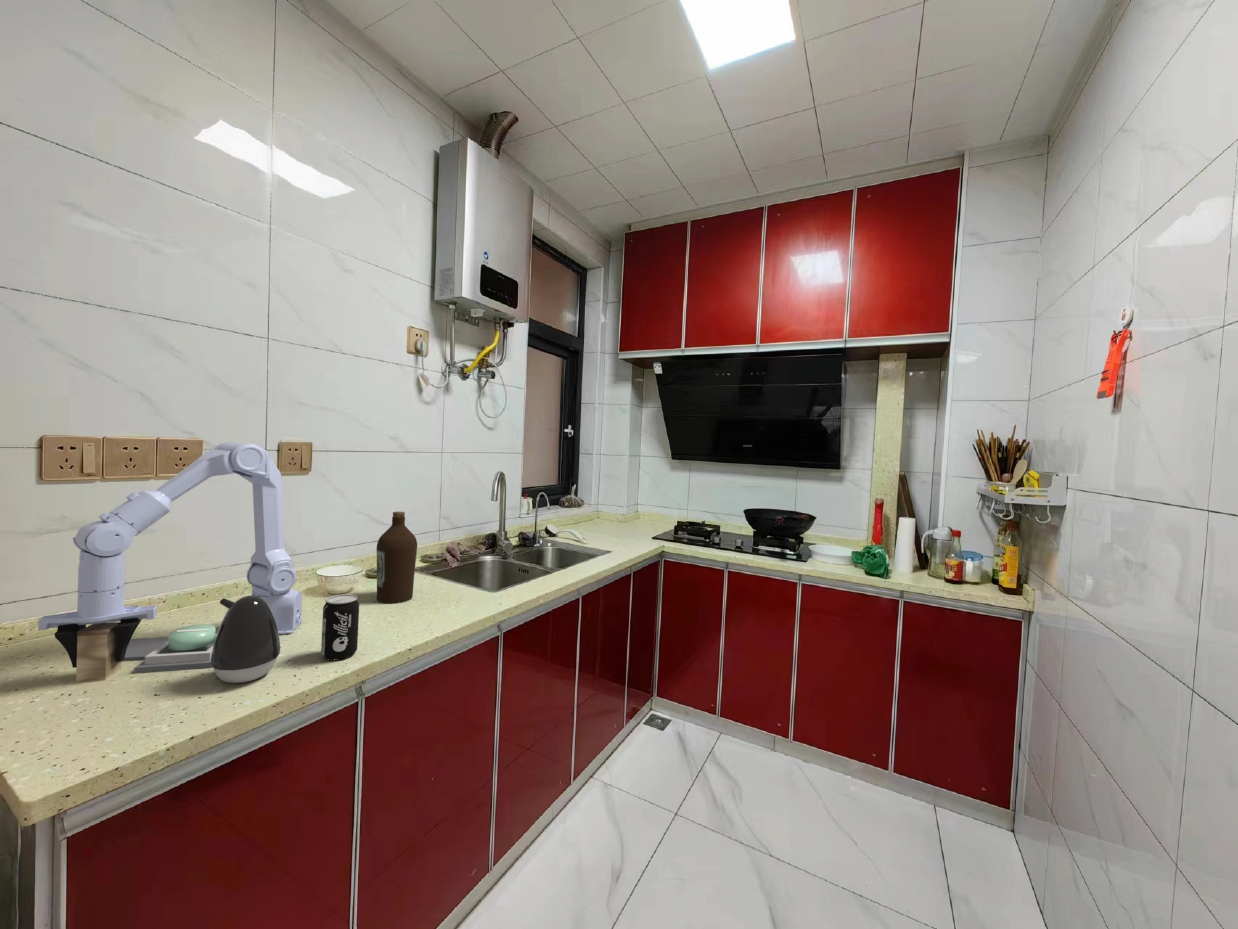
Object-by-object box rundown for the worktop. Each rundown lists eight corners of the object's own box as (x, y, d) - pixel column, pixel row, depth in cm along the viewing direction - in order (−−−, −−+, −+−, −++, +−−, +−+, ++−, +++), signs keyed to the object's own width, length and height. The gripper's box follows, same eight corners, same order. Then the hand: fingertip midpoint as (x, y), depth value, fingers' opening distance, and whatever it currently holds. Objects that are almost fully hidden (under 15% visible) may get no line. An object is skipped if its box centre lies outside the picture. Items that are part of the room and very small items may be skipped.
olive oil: (410, 591, 144) (414, 509, 143) (418, 601, 136) (422, 514, 135) (371, 595, 138) (375, 510, 137) (377, 606, 129) (381, 515, 129)
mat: (182, 638, 103) (182, 636, 103) (154, 658, 93) (154, 655, 93) (123, 642, 100) (123, 639, 100) (88, 663, 90) (88, 660, 90)
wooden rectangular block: (121, 669, 89) (122, 621, 88) (105, 680, 85) (107, 630, 84) (92, 671, 87) (94, 623, 87) (75, 682, 83) (76, 631, 83)
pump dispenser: (240, 662, 94) (243, 586, 94) (292, 666, 94) (295, 590, 93) (193, 687, 84) (196, 602, 83) (250, 692, 84) (253, 607, 83)
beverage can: (364, 651, 102) (366, 596, 102) (337, 664, 96) (339, 605, 95) (341, 646, 104) (343, 591, 104) (313, 657, 98) (315, 600, 97)
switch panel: (240, 642, 103) (241, 631, 103) (213, 667, 91) (213, 654, 91) (171, 646, 99) (172, 634, 99) (134, 673, 88) (134, 659, 87)
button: (221, 635, 99) (222, 622, 99) (204, 649, 93) (205, 635, 93) (180, 637, 97) (180, 624, 97) (159, 651, 91) (160, 638, 91)
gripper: (162, 578, 93) (160, 647, 93) (53, 586, 85) (51, 660, 85) (151, 588, 87) (149, 661, 87) (32, 597, 79) (30, 677, 79)
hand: (99, 662), depth 86 cm, fingers closed on wooden rectangular block, 5 cm apart
